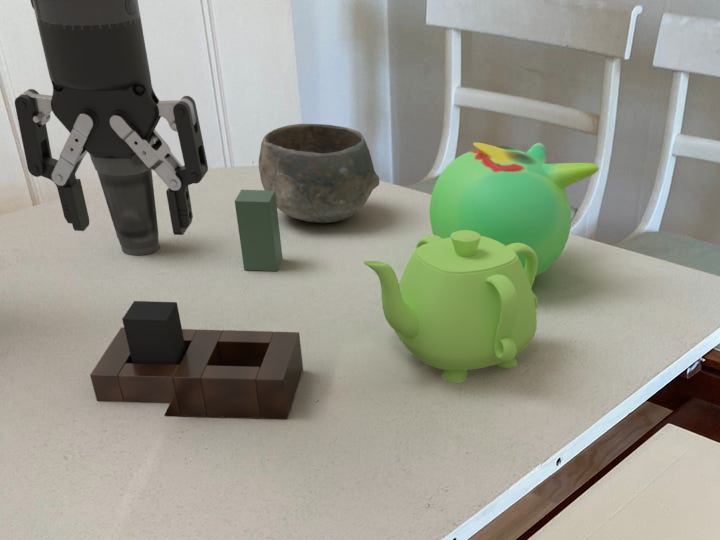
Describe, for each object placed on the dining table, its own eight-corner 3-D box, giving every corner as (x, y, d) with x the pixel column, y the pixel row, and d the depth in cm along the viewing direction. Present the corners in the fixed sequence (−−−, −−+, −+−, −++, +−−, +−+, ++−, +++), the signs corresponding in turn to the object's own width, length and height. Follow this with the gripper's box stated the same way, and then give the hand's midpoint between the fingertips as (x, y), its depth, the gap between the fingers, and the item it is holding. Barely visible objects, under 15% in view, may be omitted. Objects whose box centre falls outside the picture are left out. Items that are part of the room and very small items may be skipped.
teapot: (505, 409, 93) (512, 279, 85) (368, 384, 96) (361, 256, 88) (547, 339, 105) (557, 218, 96) (423, 318, 108) (422, 199, 99)
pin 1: (140, 399, 93) (121, 319, 88) (151, 379, 96) (134, 300, 90) (182, 400, 93) (166, 320, 88) (192, 380, 96) (177, 301, 91)
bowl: (263, 201, 135) (254, 122, 128) (374, 197, 137) (371, 119, 130) (265, 238, 125) (255, 154, 118) (385, 233, 127) (382, 150, 120)
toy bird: (410, 256, 121) (407, 127, 111) (532, 240, 126) (540, 115, 116) (466, 313, 109) (468, 174, 99) (598, 293, 114) (613, 159, 104)
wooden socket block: (100, 414, 91) (89, 374, 88) (130, 364, 98) (121, 327, 95) (287, 419, 91) (283, 380, 88) (303, 369, 98) (299, 332, 96)
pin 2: (244, 270, 117) (234, 200, 111) (250, 257, 120) (241, 189, 114) (277, 271, 117) (269, 201, 111) (282, 258, 120) (275, 190, 114)
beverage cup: (139, 264, 117) (100, 76, 104) (97, 251, 120) (53, 67, 107) (183, 245, 122) (151, 64, 108) (141, 233, 125) (104, 55, 111)
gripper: (193, 5, 76) (222, 218, 87) (11, -4, 76) (63, 211, 87) (169, 25, 71) (203, 250, 82) (-28, 15, 70) (33, 242, 81)
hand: (131, 230), depth 84 cm, fingers open, 8 cm apart
